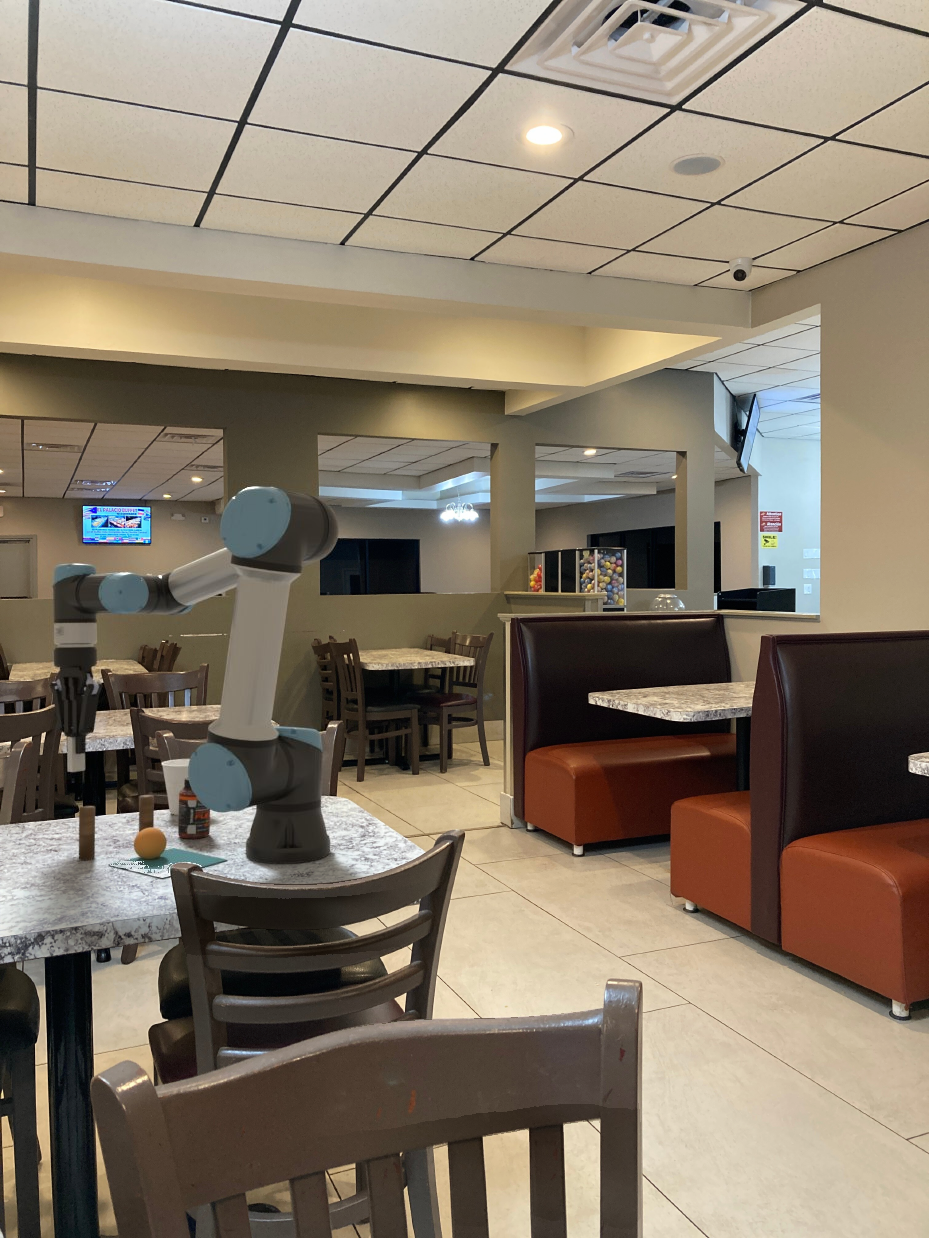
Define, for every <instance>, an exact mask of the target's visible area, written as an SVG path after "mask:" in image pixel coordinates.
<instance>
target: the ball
mask: <svg viewBox="0 0 929 1238" xmlns="http://www.w3.org/2000/svg"><path fill="white" fill-rule="evenodd" d="M133 848H134V851H135V853H136V855H137V857H141V858H143V859H155V858H157V857H159V856H160V855H161V854H162V853H163V852H164V850H166V848H167V837H166V835H165V833H164V832H163V831H162V830H160V829H159V828H156V827H154V828H146V829H143V830H142V831H140V832H139V831H138V833H137V835H136V836H135V837H134V841H133Z"/></svg>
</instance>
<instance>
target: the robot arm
mask: <svg viewBox="0 0 929 1238" xmlns="http://www.w3.org/2000/svg"><path fill="white" fill-rule="evenodd" d="M219 525H220V527H219V529H220V530H219V531H220V536H221V537H220V538H221V540H223V541H224V543H223V544H224V546H225V547H224V548H221V549H219V550H216V551H215V552H212V553H210V554H208V555H205V556H203V557H201V558H198V559H196V560H194V561H191V562H189V563H187V564H185V565H182V566H180V567H177V568H175V569H173V570H171V571H168V572H166V573H164V574H160V575H157V574H156V575H151V574H138V573H134V572H125V571H124V572H121V571H118V572H117V571H115V572H111V573H98V574H97V568H96V566H95V565H94V564H87V563H62V564H58V565H56V566H55V567H54V568H53V569H54V570H53V583H52V589H53V593H52V595H53V596H52V597H53V600H52V601H53V623H54V624H53V638H54V639H53V644H54V645H57V647H55V648H54V649H53V665H54V667H55V668H59V672H58V676H57V677H58V679H57V680H56V681H50V683H49V686H50V690H51V692H52V694H53V702H54V709H55V715H56V721H57V722H56V723H57V728H58V732H59V733H63V734H64V736H65V737H66V752H67V753H66V754H67V763H66V765H67V767H66V768H67V772H70V773H77V772H82V771H85V770H86V751H87V747H86V746H87V743H86V742H87V741H86V739H87V736H88V735H89V734H92V733H94V731H95V726H96V717H97V712H98V703H99V697H100V694H101V692H102V689H103V684H102V683H101V682H96V681H95V680H94V673H93V669H92V667H96V666H97V664H98V654H97V653H98V649H97V648H96V647H95V646H94V645H96V644H97V643H98V631H97V630H98V628H97V627H98V626H97V620H98V619H97V615H167V616H176V615H182V614H186V613H187V614H188V613H189V612H190V611H192V609H193V608H194V606H195V605H196V604H197V603H199V602H202V601H204V600H207V599H210V598H211V597H215V596H217V595H219V594H223V593H224V592H227V591H230V590H232V589H234V588H236V590H235V599H234V606H233V613H232V620H231V626H230V636H229V642H228V650H227V657H226V663H225V672H224V679H223V680H224V681H223V686H222V687H223V688H222V694H221V701H220V710H219V716H218V718H216V719H215V720H214V721H213V722H212V723H210V724H208V728H207V735H206V736H207V737H206V743H203V744H201V745H199V747H197V749H196V750H195V751H193V752H192V754H191V756H190V758H189V759H190V760H189V765H188V777H189V782H190V786H191V788H192V790H193V792H194V793H195V794H196V796H197V799H198V800H199V801H200V802H201V803H202V804H203V805H204V806H205V807H207V808H208V809H210V811H213V812H215V813H222V814H223V813H229V812H240V811H244V810H245V809H248V808H251V807H255V814H254V817H253V821H252V823H251V827H250V831H249V836H248V837H247V838H246V842H245V856H246V858H248V859H250V860H253V861H256V862H260V863H268V864H296V863H305V862H306V863H307V862H312V861H316V860H319V859H322V858H326V856H328V855H329V854H330V853H331V838H330V836H329V834H328V832H327V827H326V823H325V820H324V816H323V812H322V776H323V775H322V774H323V773H322V771H323V770H322V769H323V766H322V765H323V753H324V749H323V744H322V741H323V740H322V734H321V733H320V732H319V731H318V730H317V729H314V728H307V727H295V726H281V725H280V726H279V725H278V726H277V725H273V724H272V719H273V712H274V703H275V696H276V690H277V689H276V688H277V682H278V675H279V669H280V668H279V667H280V661H281V654H282V647H283V640H284V633H285V632H284V631H285V625H286V619H287V610H288V603H289V598H290V589H291V584H292V582H294V581H295V580H296V579H298V578H299V577H300V576H302V570H303V567H305V566H308V565H310V564H314V563H317V562H319V561H321V560H322V559H324V558H326V557H327V556H328V555H329V554H330V553H331V552H332V551H333V550H334V547H335V546H336V544H337V542H338V538H339V534H340V527H339V520H338V517H337V516H336V513H335V512H334V510H333V509H332V507H331V506H330V505H329V504H328V503H327V502H326V501H325V500H323V499H321V498H320V497H317V496H315V495H310V494H305V493H300V492H294V491H290V490H287V489H286V490H285V489H282V488H278V487H277V488H276V487H274V486H258V485H257V486H250V487H246V488H244V489H242V490H240V491H239V492H237V494H236V495H234V496H233V497H231V499H230V500H229V502H228V503H227V504H226V506H225V508H224V509H223V512H222V515H221V519H220V524H219Z"/></svg>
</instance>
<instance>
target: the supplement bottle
mask: <svg viewBox="0 0 929 1238" xmlns="http://www.w3.org/2000/svg"><path fill="white" fill-rule="evenodd" d="M184 785H185V786H184V788H183V789H182V790H181V791H180V793H179V815H178V819H177V820H178V828H177V834H178V837H180V838H182V839H187V840H190V839H191V840H195V839H203V838H206V837H208V836H209V835H210V830H211V827H210V826H211V810H210V809H208V808H207V807H205V806H204V805H203V804H202V803H201V802H200V801H199V800H198V799H197V796H196V794H195V793H194V792H193V790H192V788H191V786H190V782H189V777H187V778H185V782H184Z"/></svg>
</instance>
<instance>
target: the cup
mask: <svg viewBox="0 0 929 1238" xmlns="http://www.w3.org/2000/svg"><path fill="white" fill-rule="evenodd" d="M189 760H190V758H180V759H178V758H177V759H170V760H165V761H162V762H161V766H162V771H163V776H164V781H165V782H164V783H165V788H166V795H167V802H168V807H169V812H170V813H171V815H173V814H174V815H173V816H179V793H180V791H181V790H182V789H183V788H184V786H185V785H184V782H185V778H187V777H188V765H189Z"/></svg>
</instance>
